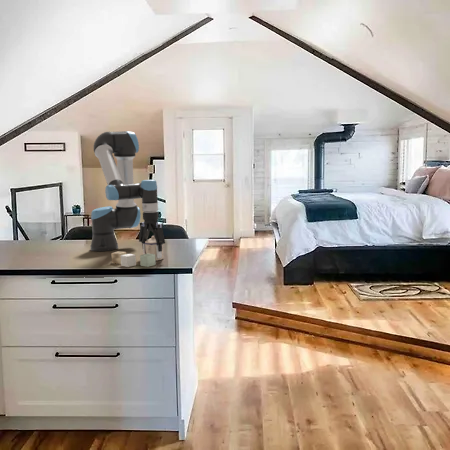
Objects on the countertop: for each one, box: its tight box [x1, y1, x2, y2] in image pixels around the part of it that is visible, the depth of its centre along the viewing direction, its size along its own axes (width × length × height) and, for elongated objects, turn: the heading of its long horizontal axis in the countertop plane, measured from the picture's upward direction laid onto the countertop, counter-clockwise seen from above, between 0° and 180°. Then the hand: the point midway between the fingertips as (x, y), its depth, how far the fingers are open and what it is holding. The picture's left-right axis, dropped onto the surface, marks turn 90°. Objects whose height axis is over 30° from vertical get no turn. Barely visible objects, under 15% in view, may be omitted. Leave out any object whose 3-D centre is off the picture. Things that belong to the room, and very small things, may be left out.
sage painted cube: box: [139, 253, 157, 268], centre depth 243 cm, size 5×5×5 cm
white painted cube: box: [120, 253, 137, 268], centre depth 244 cm, size 5×5×5 cm
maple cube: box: [110, 251, 127, 265], centre depth 251 cm, size 5×5×5 cm
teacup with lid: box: [145, 235, 164, 262], centre depth 254 cm, size 12×9×12 cm
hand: (152, 256), depth 255 cm, fingers closed on teacup with lid, 9 cm apart
